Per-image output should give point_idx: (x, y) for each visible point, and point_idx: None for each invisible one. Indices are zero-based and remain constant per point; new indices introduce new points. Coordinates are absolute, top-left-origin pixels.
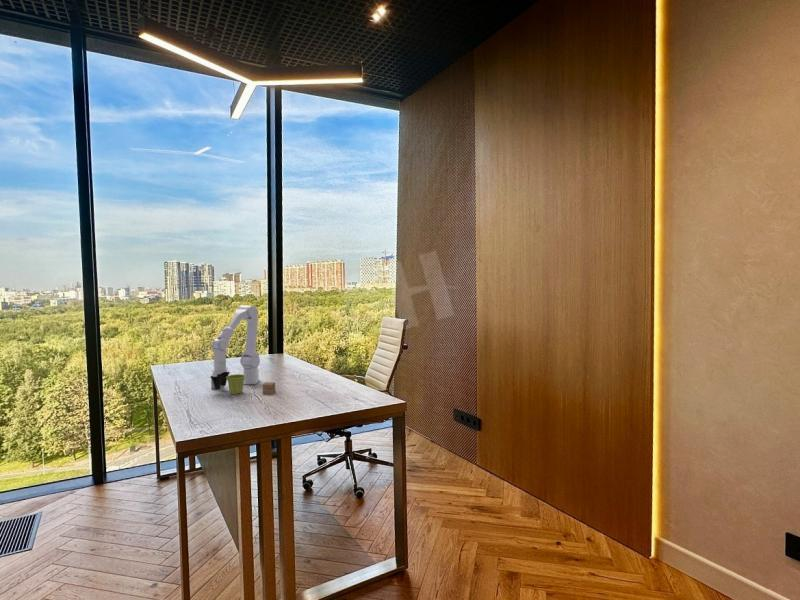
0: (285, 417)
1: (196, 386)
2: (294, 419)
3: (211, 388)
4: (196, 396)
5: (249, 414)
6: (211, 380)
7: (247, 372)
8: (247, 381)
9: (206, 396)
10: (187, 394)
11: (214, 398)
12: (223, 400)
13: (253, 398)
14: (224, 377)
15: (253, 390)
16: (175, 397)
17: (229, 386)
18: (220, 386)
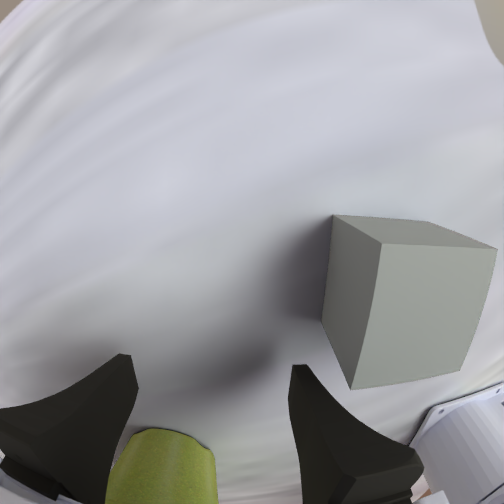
0: None
1: (439, 27)
2: None
3: (334, 217)
4: (22, 195)
5: None
6: (376, 246)
7: (448, 496)
8: (425, 449)
9: (33, 286)
10: (88, 59)
11: (18, 355)
12: (15, 401)
13: None
14: (306, 472)
15: (241, 497)
16: (21, 39)
17: (113, 470)
18: (328, 334)
